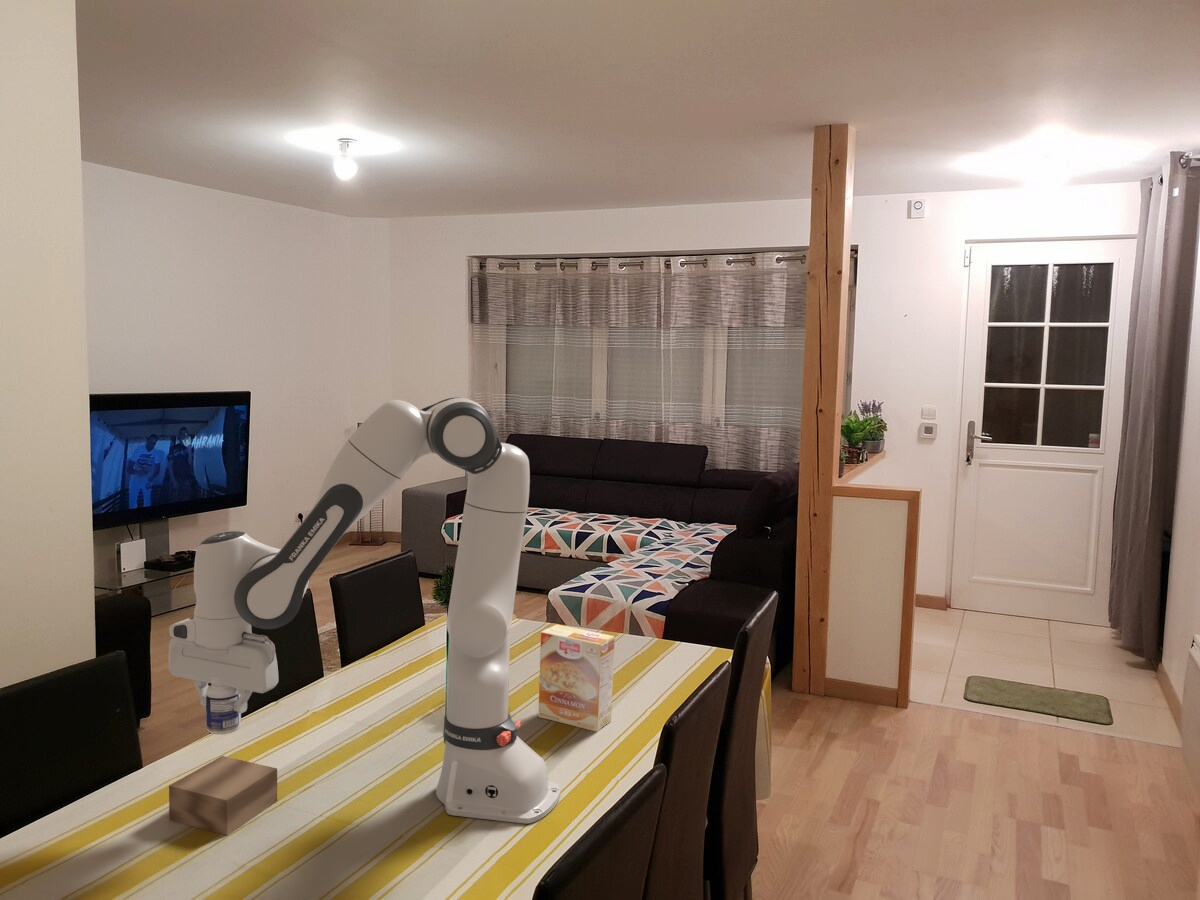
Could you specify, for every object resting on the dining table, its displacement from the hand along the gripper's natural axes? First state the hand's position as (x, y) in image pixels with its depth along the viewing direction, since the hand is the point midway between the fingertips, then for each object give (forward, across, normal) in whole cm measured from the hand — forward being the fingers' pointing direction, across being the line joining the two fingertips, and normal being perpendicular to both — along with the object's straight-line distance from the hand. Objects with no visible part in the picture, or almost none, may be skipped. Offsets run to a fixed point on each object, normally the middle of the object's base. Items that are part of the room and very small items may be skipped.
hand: (223, 708), depth 148 cm
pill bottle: (+4, 0, 0) cm, 4 cm away
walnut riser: (+18, 0, 0) cm, 18 cm away
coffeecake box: (+18, -41, -60) cm, 75 cm away
